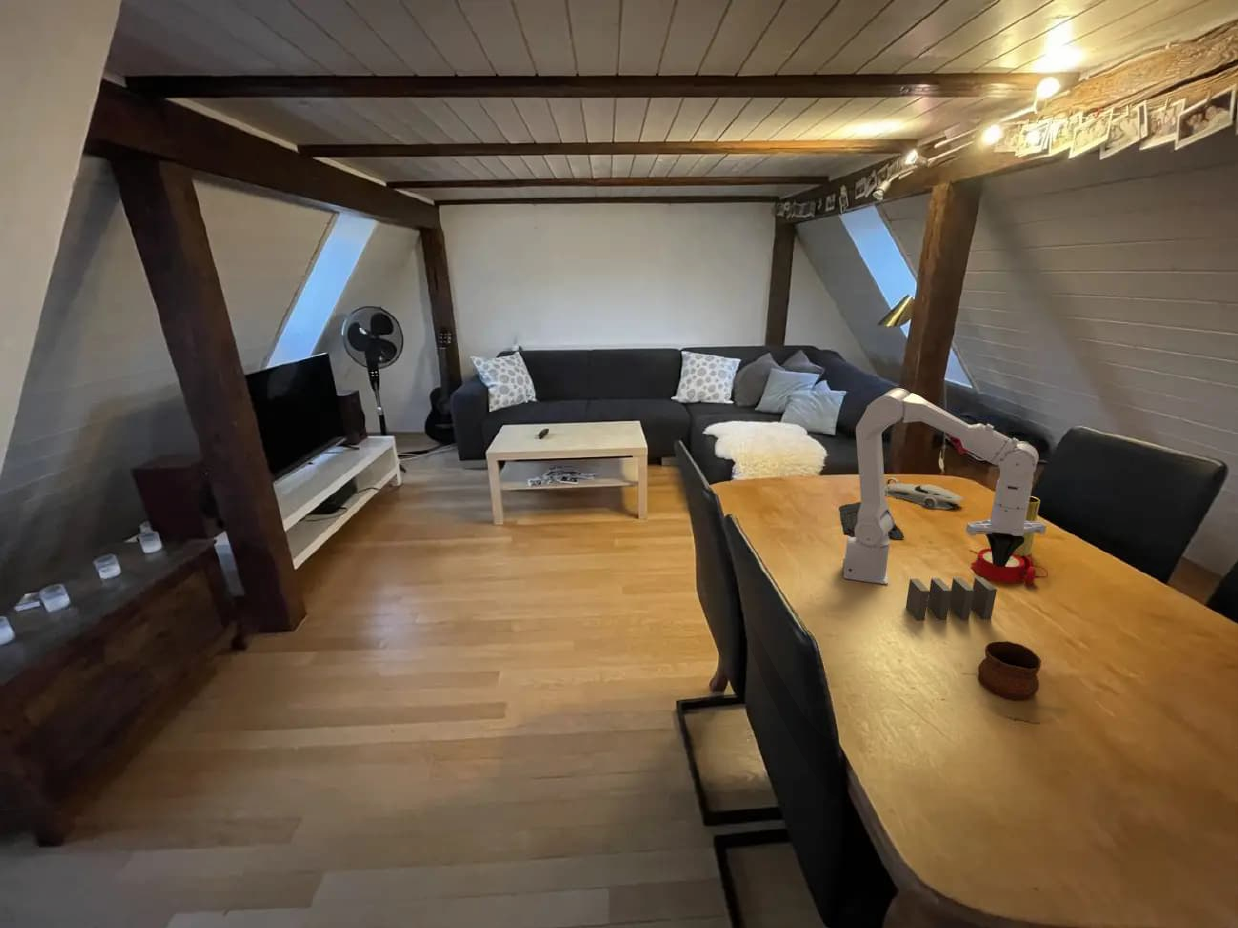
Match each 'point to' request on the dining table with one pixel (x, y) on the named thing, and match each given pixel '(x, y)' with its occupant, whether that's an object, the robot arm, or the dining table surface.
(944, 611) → the domino
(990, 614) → the domino
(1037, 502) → the vase
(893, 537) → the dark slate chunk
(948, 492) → the car model
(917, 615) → the loose domino
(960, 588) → the domino
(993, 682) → the ceramic pot
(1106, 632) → the dining table surface
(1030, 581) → the alarm clock
